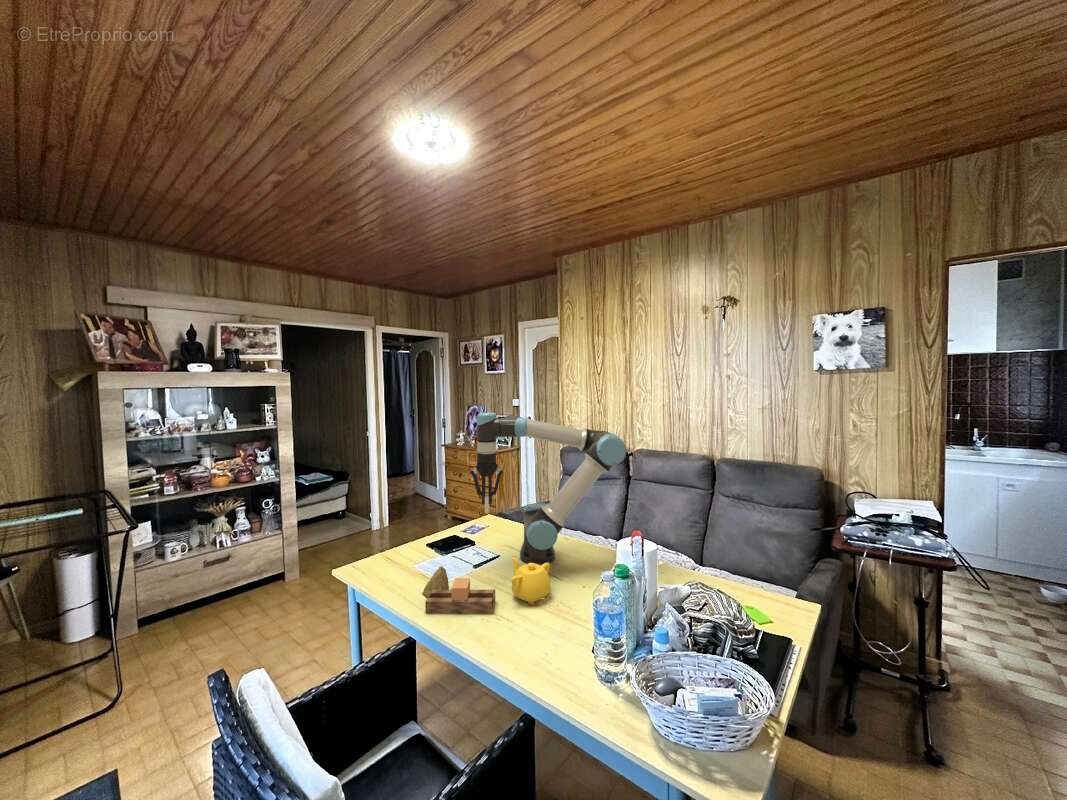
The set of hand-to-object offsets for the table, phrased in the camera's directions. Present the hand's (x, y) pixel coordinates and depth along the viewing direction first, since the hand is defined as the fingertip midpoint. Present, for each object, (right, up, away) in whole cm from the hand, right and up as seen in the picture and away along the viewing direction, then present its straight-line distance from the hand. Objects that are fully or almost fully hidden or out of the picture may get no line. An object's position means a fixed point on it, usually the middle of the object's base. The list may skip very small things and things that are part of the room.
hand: (487, 512), depth 164 cm
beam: (-6, -25, -24) cm, 35 cm away
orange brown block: (-6, -24, -24) cm, 34 cm away
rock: (-16, -25, -18) cm, 35 cm away
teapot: (+16, -25, -16) cm, 34 cm away
